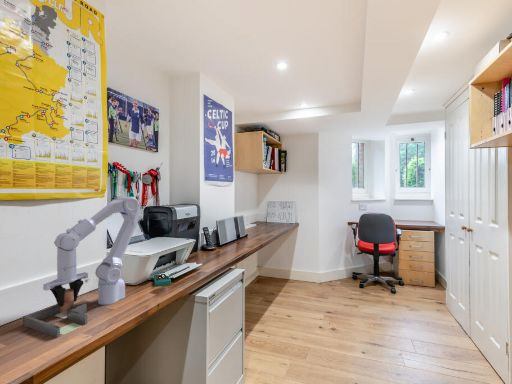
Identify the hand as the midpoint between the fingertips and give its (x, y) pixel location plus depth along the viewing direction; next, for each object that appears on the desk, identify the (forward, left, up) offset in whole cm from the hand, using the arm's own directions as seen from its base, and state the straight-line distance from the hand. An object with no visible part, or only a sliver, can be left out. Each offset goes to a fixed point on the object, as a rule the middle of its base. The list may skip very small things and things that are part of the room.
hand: (67, 303), depth 100 cm
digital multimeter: (-44, +3, -6) cm, 45 cm away
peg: (0, 0, -2) cm, 2 cm away
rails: (+4, +4, -4) cm, 7 cm away
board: (+4, +6, -5) cm, 8 cm away
